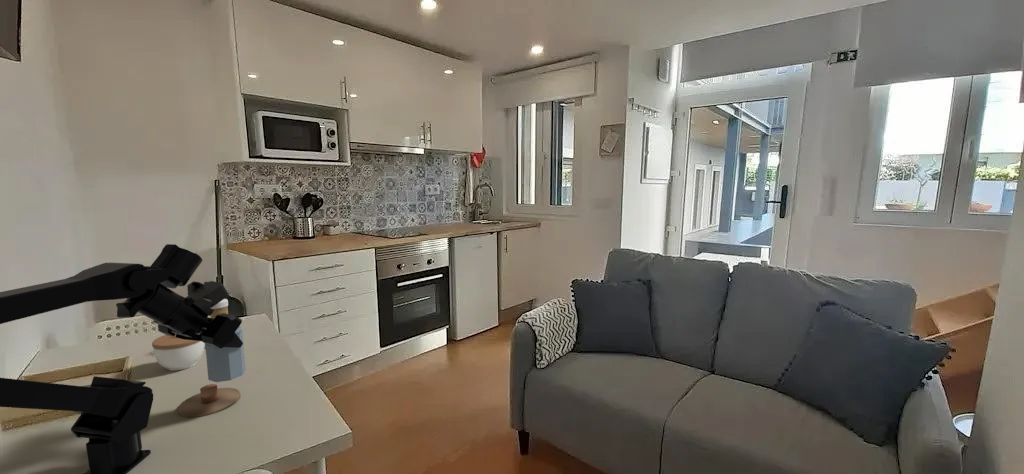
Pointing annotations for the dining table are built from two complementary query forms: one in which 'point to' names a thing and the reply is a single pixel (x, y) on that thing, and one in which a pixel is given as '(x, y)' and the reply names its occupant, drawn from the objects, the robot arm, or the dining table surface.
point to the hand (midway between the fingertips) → (231, 343)
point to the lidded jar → (177, 352)
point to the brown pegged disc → (209, 401)
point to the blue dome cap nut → (225, 361)
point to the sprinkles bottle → (220, 308)
